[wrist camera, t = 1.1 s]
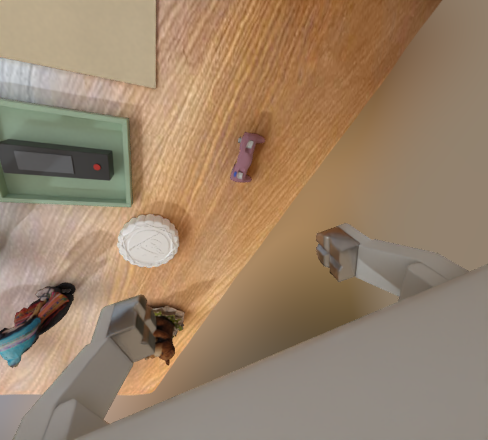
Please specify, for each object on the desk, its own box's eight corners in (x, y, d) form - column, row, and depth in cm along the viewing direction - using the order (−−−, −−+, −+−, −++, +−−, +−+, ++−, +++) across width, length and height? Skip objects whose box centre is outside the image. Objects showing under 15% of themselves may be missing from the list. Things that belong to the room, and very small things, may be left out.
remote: (8, 138, 34) (-7, 142, 31) (112, 150, 39) (107, 155, 36) (16, 166, 36) (2, 173, 33) (114, 174, 41) (109, 181, 38)
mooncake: (144, 268, 52) (142, 278, 49) (106, 232, 46) (101, 241, 43) (189, 242, 52) (190, 251, 49) (157, 203, 46) (156, 210, 43)
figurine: (59, 271, 47) (18, 335, 34) (84, 290, 51) (56, 354, 38) (15, 293, 47) (-42, 367, 34) (45, 311, 50) (3, 383, 38)
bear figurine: (136, 298, 56) (128, 343, 46) (191, 308, 63) (195, 349, 53) (116, 334, 60) (105, 383, 49) (170, 340, 67) (171, 384, 56)
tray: (-27, 93, 31) (-39, 93, 29) (129, 118, 38) (126, 119, 36) (5, 196, 38) (-3, 202, 36) (132, 202, 44) (131, 207, 43)
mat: (-42, -99, 24) (-45, -102, 24) (156, -27, 31) (156, -29, 30) (-3, 56, 30) (-5, 56, 30) (155, 88, 37) (155, 88, 36)
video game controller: (245, 129, 45) (239, 128, 39) (266, 137, 45) (264, 137, 39) (231, 175, 49) (223, 181, 43) (251, 182, 49) (246, 189, 43)
